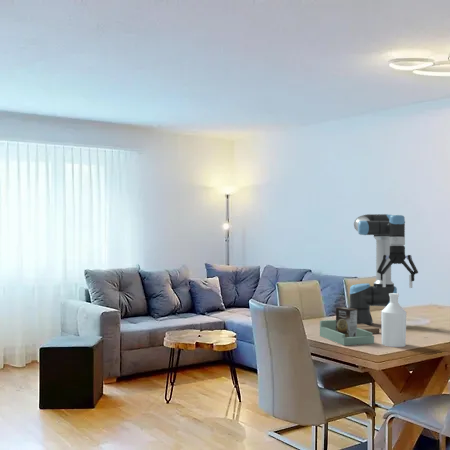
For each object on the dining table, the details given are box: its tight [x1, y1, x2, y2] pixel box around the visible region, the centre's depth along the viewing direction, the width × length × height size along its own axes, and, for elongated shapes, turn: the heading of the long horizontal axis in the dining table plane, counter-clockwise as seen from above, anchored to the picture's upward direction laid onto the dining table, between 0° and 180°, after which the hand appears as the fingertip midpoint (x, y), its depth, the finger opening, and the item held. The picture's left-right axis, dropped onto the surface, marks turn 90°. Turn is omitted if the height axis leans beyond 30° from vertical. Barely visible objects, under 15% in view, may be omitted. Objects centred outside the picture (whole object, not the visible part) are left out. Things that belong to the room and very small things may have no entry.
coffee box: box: [335, 306, 357, 337], centre depth 302 cm, size 9×6×16 cm
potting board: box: [357, 324, 380, 334], centre depth 325 cm, size 16×16×2 cm
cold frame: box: [319, 319, 375, 346], centre depth 302 cm, size 25×17×8 cm
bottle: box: [380, 292, 407, 348], centre depth 291 cm, size 12×12×25 cm
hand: (397, 287), depth 300 cm, fingers open, 13 cm apart
